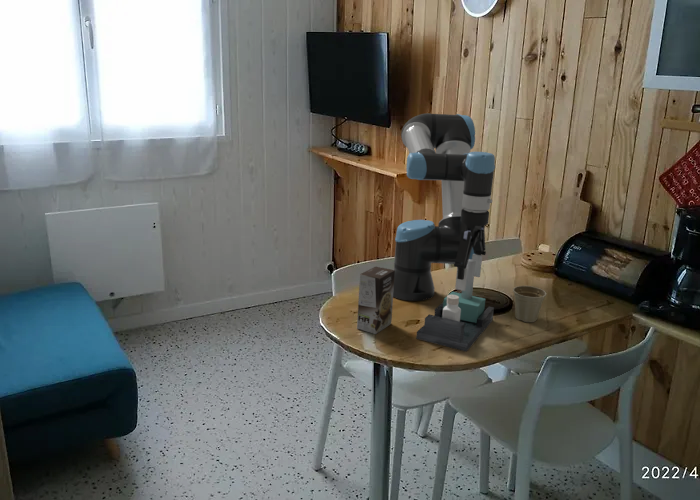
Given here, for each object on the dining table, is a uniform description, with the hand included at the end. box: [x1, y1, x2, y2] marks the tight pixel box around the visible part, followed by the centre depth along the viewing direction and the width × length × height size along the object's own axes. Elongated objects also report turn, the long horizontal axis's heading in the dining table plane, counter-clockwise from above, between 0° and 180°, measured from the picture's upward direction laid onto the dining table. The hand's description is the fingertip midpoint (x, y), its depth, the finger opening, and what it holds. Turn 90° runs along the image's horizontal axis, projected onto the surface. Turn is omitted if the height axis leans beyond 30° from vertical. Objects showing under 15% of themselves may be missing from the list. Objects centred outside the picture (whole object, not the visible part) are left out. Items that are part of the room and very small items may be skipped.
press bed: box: [415, 302, 495, 353], centre depth 169 cm, size 14×24×6 cm, turn 151°
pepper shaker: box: [442, 294, 461, 321], centre depth 164 cm, size 4×4×10 cm
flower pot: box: [512, 285, 547, 323], centre depth 178 cm, size 9×9×9 cm
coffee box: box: [356, 266, 395, 335], centre depth 168 cm, size 9×6×16 cm
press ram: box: [442, 259, 486, 323], centre depth 172 cm, size 10×7×16 cm
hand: (467, 282), depth 173 cm, fingers open, 13 cm apart
